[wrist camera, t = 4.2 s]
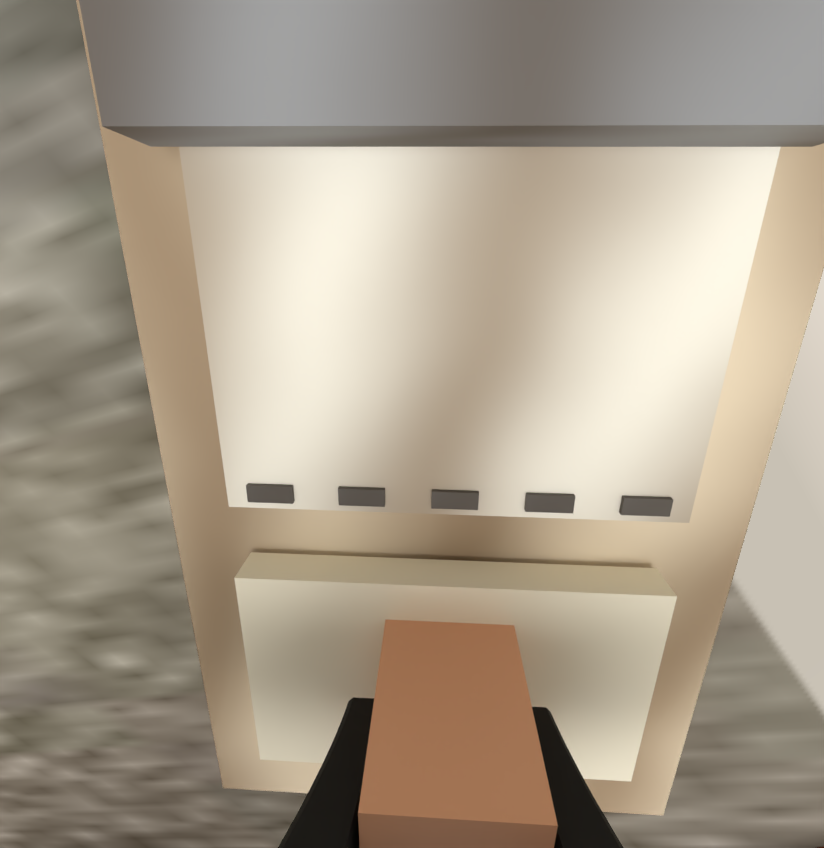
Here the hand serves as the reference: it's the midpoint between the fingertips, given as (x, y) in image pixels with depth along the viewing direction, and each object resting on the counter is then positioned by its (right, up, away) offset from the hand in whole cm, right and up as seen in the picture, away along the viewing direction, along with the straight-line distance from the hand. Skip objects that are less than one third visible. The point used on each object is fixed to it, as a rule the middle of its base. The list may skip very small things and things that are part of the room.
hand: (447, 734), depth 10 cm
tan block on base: (0, +1, +2) cm, 2 cm away
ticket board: (0, +6, +2) cm, 6 cm away
